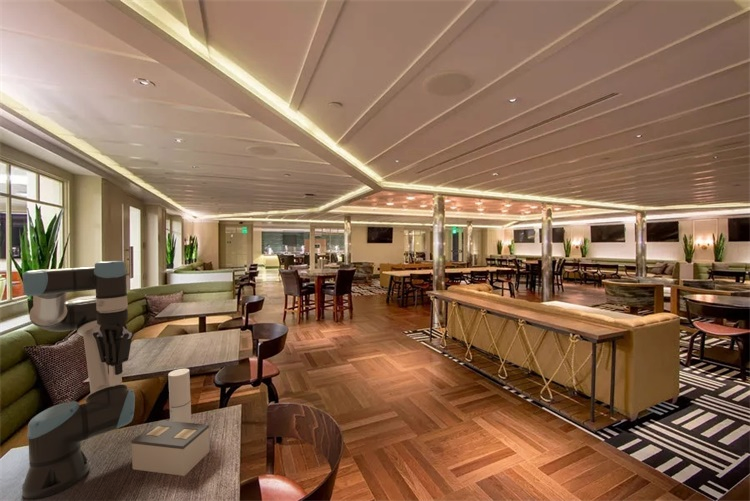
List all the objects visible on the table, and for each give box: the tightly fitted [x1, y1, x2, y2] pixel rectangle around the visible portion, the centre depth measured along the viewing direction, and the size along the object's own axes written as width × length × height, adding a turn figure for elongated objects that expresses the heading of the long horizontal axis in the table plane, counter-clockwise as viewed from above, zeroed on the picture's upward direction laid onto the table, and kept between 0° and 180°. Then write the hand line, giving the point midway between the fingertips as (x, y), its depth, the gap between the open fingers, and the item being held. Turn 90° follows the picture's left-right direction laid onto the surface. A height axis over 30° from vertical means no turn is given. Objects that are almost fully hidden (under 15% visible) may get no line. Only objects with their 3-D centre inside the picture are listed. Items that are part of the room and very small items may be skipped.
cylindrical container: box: [167, 368, 192, 423], centre depth 125 cm, size 7×7×25 cm
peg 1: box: [146, 426, 170, 437], centre depth 111 cm, size 5×5×8 cm
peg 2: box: [173, 429, 197, 440], centre depth 109 cm, size 5×5×8 cm
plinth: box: [130, 419, 211, 477], centre depth 110 cm, size 20×12×10 cm, turn 80°
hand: (115, 384), depth 98 cm, fingers closed
